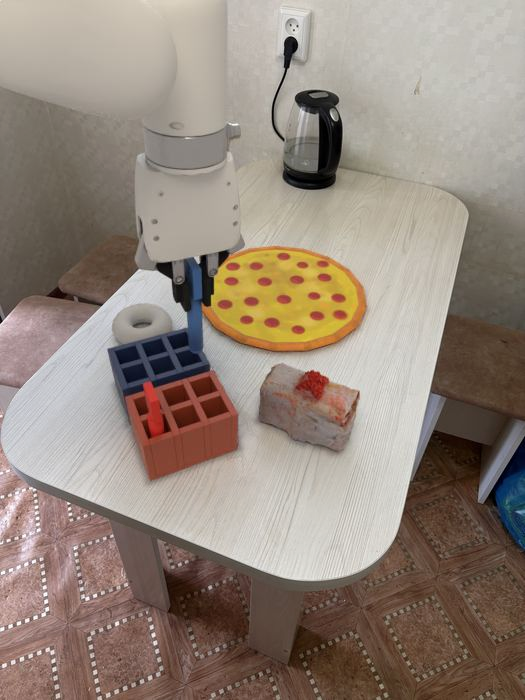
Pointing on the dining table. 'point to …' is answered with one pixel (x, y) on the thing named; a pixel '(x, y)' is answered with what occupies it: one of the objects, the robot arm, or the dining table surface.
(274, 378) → the food item
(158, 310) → the donut
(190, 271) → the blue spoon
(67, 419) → the dining table surface
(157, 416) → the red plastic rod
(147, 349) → the blue caddy
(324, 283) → the pizza
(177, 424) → the red caddy
